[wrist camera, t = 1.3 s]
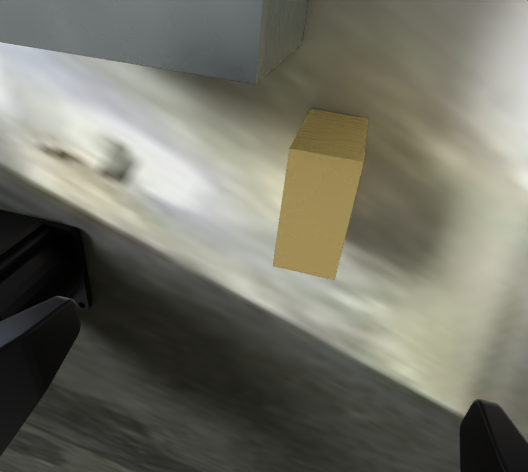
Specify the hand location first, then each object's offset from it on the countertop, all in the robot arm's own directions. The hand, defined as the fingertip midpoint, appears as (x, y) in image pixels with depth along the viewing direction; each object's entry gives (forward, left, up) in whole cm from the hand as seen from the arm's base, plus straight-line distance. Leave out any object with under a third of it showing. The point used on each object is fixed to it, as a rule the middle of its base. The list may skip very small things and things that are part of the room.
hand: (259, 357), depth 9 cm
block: (0, 0, -12) cm, 12 cm away
